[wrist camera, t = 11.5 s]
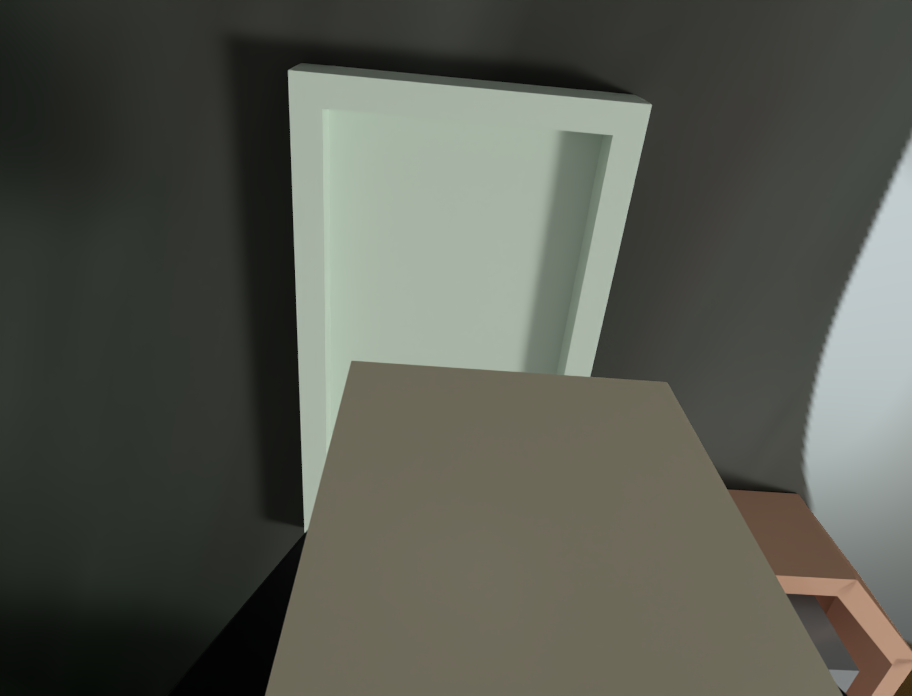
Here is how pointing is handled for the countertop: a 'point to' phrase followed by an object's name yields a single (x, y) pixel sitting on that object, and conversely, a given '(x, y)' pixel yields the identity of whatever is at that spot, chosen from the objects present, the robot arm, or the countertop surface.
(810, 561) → the bowl
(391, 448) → the beige block
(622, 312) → the countertop surface
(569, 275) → the tray
